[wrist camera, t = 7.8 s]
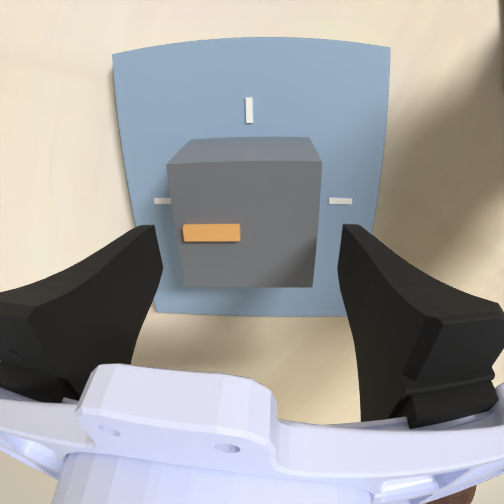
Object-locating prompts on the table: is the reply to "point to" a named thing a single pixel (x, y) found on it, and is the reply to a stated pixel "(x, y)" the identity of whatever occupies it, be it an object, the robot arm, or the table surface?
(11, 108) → the table surface
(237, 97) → the plate
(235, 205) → the grey drawer cabinet
